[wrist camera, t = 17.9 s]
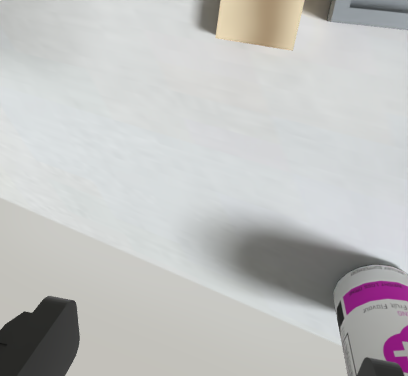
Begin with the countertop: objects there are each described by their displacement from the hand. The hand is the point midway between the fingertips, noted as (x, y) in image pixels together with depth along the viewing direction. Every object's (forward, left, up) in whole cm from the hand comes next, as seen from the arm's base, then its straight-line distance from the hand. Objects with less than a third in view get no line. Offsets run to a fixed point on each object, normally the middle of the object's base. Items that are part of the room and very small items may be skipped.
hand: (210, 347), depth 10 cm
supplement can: (+15, -17, -25) cm, 34 cm away
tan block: (-1, +9, -25) cm, 27 cm away
